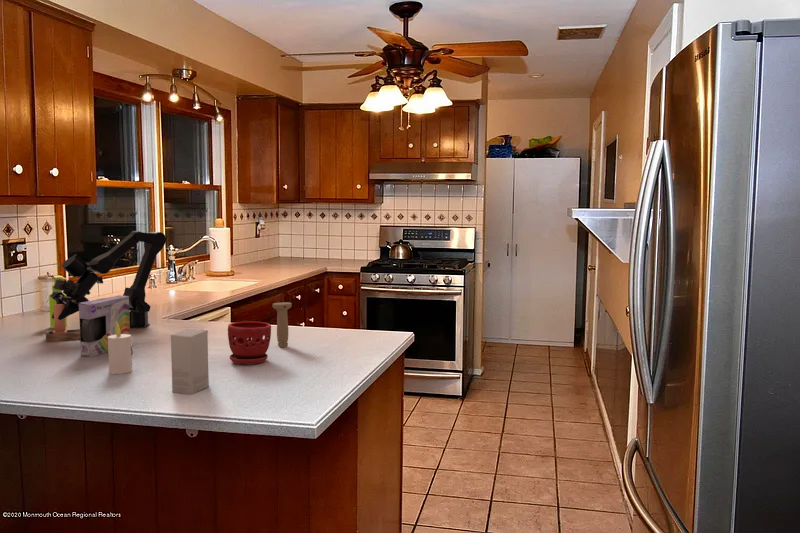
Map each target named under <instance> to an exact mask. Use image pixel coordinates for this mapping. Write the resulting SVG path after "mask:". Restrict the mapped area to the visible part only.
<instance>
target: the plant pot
mask: <svg viewBox="0 0 800 533" xmlns="http://www.w3.org/2000/svg"><path fill="white" fill-rule="evenodd" d="M271 336H272V325H271V324H270V323H268V322H263V321H236V322H230V323H229V324H228V325H227V339H228V346H229V349H230V351H231V353H232V354H230V355H229V360H230V361H231V362H232V363H234V364H236V365H244V366H245V365H246V366H248V365H251V366H252V365H257V364H261V363H264V362H265V361H266V360H268V357H269V355H268V354H267V351H268V349H269V347H270V342H271ZM263 337H264V338H263Z"/></svg>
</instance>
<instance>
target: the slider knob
mask: <svg viewBox="0 0 800 533" xmlns="http://www.w3.org/2000/svg"><path fill="white" fill-rule="evenodd" d="M53 308H54V328H53V329H54V330H52V331H53V334H58V333H67V330H68V329H66V328H67V327H65V318H64V319H62V320H59V319H58V317H59V315H60V314H61V312H62V311H63V309H64V308H65V306H64V304H56V305H53Z"/></svg>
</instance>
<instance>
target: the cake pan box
mask: <svg viewBox="0 0 800 533" xmlns="http://www.w3.org/2000/svg"><path fill="white" fill-rule="evenodd" d="M129 312H130V311H129V296H123V294H118V295H114V296H110V297H101V298H96V299H92V300H89V301H87V302H81V303H79V311H78V315H79V316H78V318H79V329H80V339H79V340H80V341H79V343H80V356H81V357H88V358H89V357H90V358H91V357H95V356H98V355H101V354H105V353H108V336H111V335H116V327H115V321H116V322H117V323H118V324H119V327H120V331H121V334H129V335H131V327H130V320H129Z"/></svg>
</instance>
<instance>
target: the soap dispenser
mask: <svg viewBox="0 0 800 533" xmlns="http://www.w3.org/2000/svg"><path fill="white" fill-rule="evenodd" d="M51 280H54V282H53V283H54V284H53V285H52V286H51V291H52V293H53V292H62V293H63V291H62V290H59V289H55V288H54V285H55V283H56V280H62V281H66V280H68V279H67V278H66V277H63V276H55V277H51ZM52 293H51V294H52ZM51 294H49V295H48V300H49V303H48V304H49V322H50V328H51V329H54V319H53V318H52V315H53V313H54V308H53V305H56V304H57V303H56V301H55V300H54V299H53V298H51V297H50V295H51ZM63 294H64V293H63ZM64 295H65V294H64ZM65 296H66V295H65ZM67 318H68V316H67V317H66V318H65V327H66V328H67V327H68V321H67V320H68V319H67Z"/></svg>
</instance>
